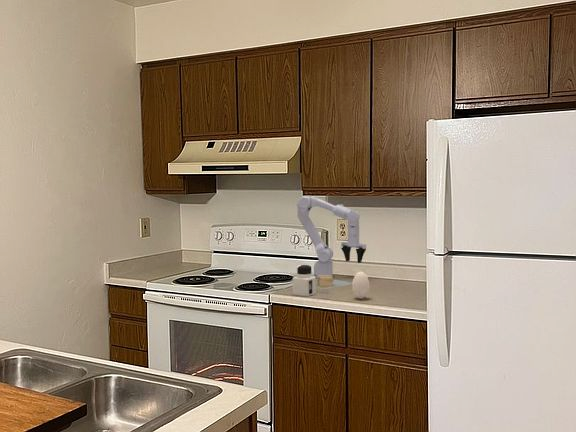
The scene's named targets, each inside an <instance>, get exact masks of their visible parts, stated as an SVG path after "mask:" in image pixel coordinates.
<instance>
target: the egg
mask: <svg viewBox="0 0 576 432" xmlns="http://www.w3.org/2000/svg"><path fill="white" fill-rule="evenodd" d="M351 283H352V284H351V289H352V293H353V295H354V296H355V297H356V298H357V299H360V300H361V299H362V300H363V299H365V298H366V297H367V296H368V295H369V292H370V289H371V288H370V281H369V277H368V276H367V274H366V273H365V272H363V271H358V272H357V273H356V274H355V275H354V277H353V280H352V282H351Z"/></svg>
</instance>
